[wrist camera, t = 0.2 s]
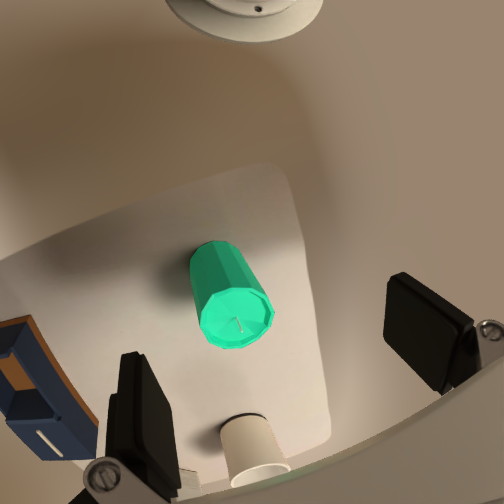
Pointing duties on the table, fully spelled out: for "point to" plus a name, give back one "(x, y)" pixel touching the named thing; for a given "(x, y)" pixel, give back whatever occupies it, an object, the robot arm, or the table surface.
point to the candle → (228, 296)
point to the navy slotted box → (42, 397)
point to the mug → (251, 450)
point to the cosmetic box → (188, 486)
